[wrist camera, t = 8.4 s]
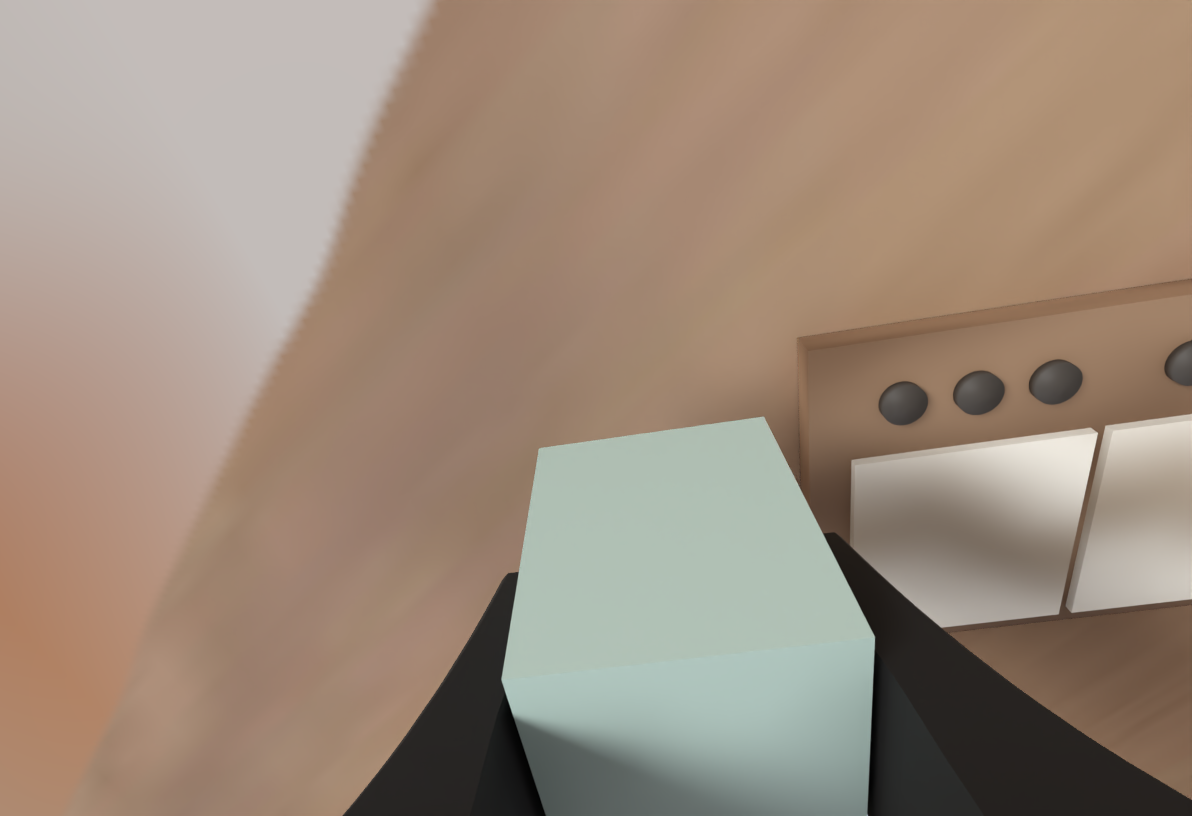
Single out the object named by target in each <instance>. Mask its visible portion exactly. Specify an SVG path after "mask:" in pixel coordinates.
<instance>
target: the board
mask: <svg viewBox="0 0 1192 816" xmlns="http://www.w3.org/2000/svg"><path fill="white" fill-rule="evenodd" d="M797 350H798V394H799V438H800V481H801V491H802V493H803V495H804V497H805V499H806V501H807V503H808V505H809V507H810V509H811V511H812V513H813V515H814V517H815V519H816V521H817V523H818V525H819V527H820V529H821V531H822V533H831V532H835V533H837V534H838V535H839V536H840V537H842V538H843V539H844V540H845V541H846V542H847V543H848V544H849V545H850V546H851V547H852V548H853V549H854V550H855V551H856V552H857V553H858V554H859V555H860V556H862V557H863V558H864V559H865V560H866V561H867V562H868V563H869V564H870V565H871V566H872V567H873V568H874V569H875V570H876V571H877V572H878V573H880V574H881V575H882V576H883V577H884V578H885V579H886V580H887V581H888V582H889V583H890V584H892V585H893V586H894V587H895V588H896V589H897V590H898V591H899V592H900V593H902V594H903V595H904V596H905V597H906V598H907V599H908V600H909V601H911V602H912V603H913V604H914V605H915V606H916V607H917V608H919V609H920V610H921V611H922V612H923V613H925V614H926V615H927V616H928V617H929V618H930V619H932V620H933V621H934V622H935V623H936V624H937V625H939V626H940V627H941V628H942V629H943V630H945V631H946V632H947V633H948V632H957V631H966V630H975V629H984V628H992V627H1001V626H1010V625H1019V624H1028V623H1037V622H1045V621H1054V620H1063V619H1072V618H1081V617H1090V616H1098V615H1107V614H1116V613H1125V612H1134V611H1143V610H1151V609H1160V608H1169V607H1178V606H1187V605H1192V279H1188V280H1181V281H1174V282H1167V283H1161V284H1154V285H1147V286H1141V287H1134V288H1127V289H1121V290H1114V291H1107V292H1101V293H1094V294H1087V295H1081V296H1074V297H1067V298H1060V299H1054V300H1047V301H1040V302H1034V303H1027V304H1020V305H1014V306H1007V307H1000V308H994V309H987V310H980V311H973V312H967V313H960V314H953V315H947V316H940V317H933V318H927V319H920V320H913V321H907V322H900V323H893V324H886V325H880V326H873V327H866V328H860V329H853V330H846V331H840V332H833V333H826V334H820V335H813V336H806V337H800V338H797Z"/></svg>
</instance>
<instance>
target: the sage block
mask: <svg viewBox="0 0 1192 816" xmlns="http://www.w3.org/2000/svg"><path fill="white" fill-rule="evenodd" d="M874 650H875V636H874V634H873V632H872V630H871V628H870V626H869V624H868V622H867V620H866V618H865V616H864V614H863V612H862V610H861V608H860V607H859V605H858V603H857V601H856V599H855V597H854V595H853V593H852V591H851V589H850V587H849V585H848V583H847V581H846V579H845V577H844V575H843V573H842V571H841V569H840V567H839V565H838V563H837V561H836V559H835V557H834V555H833V553H832V551H831V549H830V547H829V545H828V543H827V541H826V539H825V537H824V535H823V533H822V531H821V529H820V527H819V525H818V523H817V521H816V519H815V517H814V515H813V513H812V511H811V509H810V507H809V505H808V503H807V501H806V499H805V497H804V495H803V493H802V491H801V489H800V487H799V485H798V483H797V482H796V480H795V478H794V476H793V474H792V472H791V470H790V468H789V466H788V464H787V462H786V460H785V458H784V456H783V454H782V452H781V450H780V448H779V446H778V444H777V442H776V440H775V438H774V436H773V434H772V432H771V430H770V428H769V426H768V424H767V422H766V420H765V418H764V417H758V418H750V419H743V420H736V421H729V422H722V423H715V424H708V425H701V426H694V427H687V428H680V429H673V430H666V431H658V432H651V433H644V434H637V435H630V436H623V437H616V438H609V439H602V440H595V441H588V442H581V443H574V444H566V445H559V446H552V447H545V448H539V452H538V458H537V465H536V471H535V477H534V483H533V489H532V495H531V501H530V507H529V514H528V520H527V526H526V532H525V538H524V544H523V550H522V557H521V563H520V569H519V575H518V581H517V587H516V593H515V600H514V606H513V612H512V618H511V624H510V630H509V636H508V643H507V649H506V655H505V661H504V667H503V673H502V679H501V680H502V683H503V686H504V689H505V692H506V695H507V699H508V702H509V705H510V708H511V711H512V714H513V717H514V720H515V723H516V726H517V729H518V732H519V735H520V738H521V741H522V744H523V747H524V750H525V753H526V756H527V760H528V763H529V766H530V769H531V772H532V775H533V778H534V781H535V784H536V787H537V790H538V793H539V796H540V799H541V802H542V805H543V808H544V811H545V814H546V816H867V807H868V785H869V762H870V740H871V717H872V695H873V672H874Z"/></svg>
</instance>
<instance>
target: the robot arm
mask: <svg viewBox="0 0 1192 816" xmlns="http://www.w3.org/2000/svg"><path fill="white" fill-rule="evenodd" d="M823 535H824V537H825V539H826V541H827V543H828V545H829V547H830V549H831V551H832V553H833V555H834V557H835V559H836V561H837V563H838V565H839V567H840V569H841V571H842V573H843V575H844V577H845V579H846V581H847V583H848V585H849V587H850V589H851V591H852V593H853V595H854V597H855V599H856V601H857V603H858V605H859V607H860V608H861V610H862V612H863V614H864V616H865V618H866V620H867V622H868V624H869V626H870V628H871V630H872V632H873V634H874V636H875V650H874V672H873V695H872V717H871V740H870V762H869V785H868V807H867V816H1192V800H1191V799H1189V798H1187V797H1186V796H1184V795H1182V794H1181V793H1179V792H1177V791H1176V790H1174V789H1172V788H1171V787H1169V786H1167V785H1166V784H1164V783H1162V782H1161V781H1159V780H1157V779H1156V778H1154V777H1152V776H1150V775H1149V774H1147V773H1145V772H1144V771H1142V770H1140V769H1139V768H1137V767H1135V766H1134V765H1132V764H1130V763H1129V762H1127V761H1125V760H1124V759H1122V758H1121V757H1119V756H1117V755H1116V754H1114V753H1113V752H1111V751H1110V750H1108V749H1106V748H1105V747H1103V746H1102V745H1100V744H1099V743H1097V742H1095V741H1094V740H1092V739H1091V738H1089V737H1088V736H1086V735H1085V734H1083V733H1082V732H1080V731H1079V730H1077V729H1076V728H1074V727H1073V726H1071V725H1070V724H1069V723H1067V722H1066V721H1064V720H1063V719H1061V718H1060V717H1058V716H1057V715H1055V714H1054V713H1052V712H1051V711H1049V710H1048V709H1047V708H1045V707H1044V706H1042V705H1041V704H1039V703H1038V702H1037V701H1035V700H1034V699H1033V698H1031V697H1030V696H1028V695H1027V694H1026V693H1024V692H1023V691H1021V690H1020V689H1019V688H1017V687H1016V686H1015V685H1013V684H1012V683H1011V682H1009V681H1008V680H1007V679H1005V678H1004V677H1003V676H1001V675H1000V674H999V673H997V672H996V671H995V670H994V669H992V668H991V667H990V666H988V665H987V664H986V663H984V662H983V661H982V660H981V659H979V658H978V657H977V656H975V655H974V654H973V653H972V652H970V651H969V650H968V649H967V648H965V647H964V646H963V645H962V644H960V643H959V642H958V641H957V640H955V639H954V638H953V637H952V636H950V635H949V634H948V633H947V632H946V631H945V630H943V629H942V628H941V627H940V626H939V625H937V624H936V623H935V622H934V621H933V620H932V619H930V618H929V617H928V616H927V615H926V614H925V613H923V612H922V611H921V610H920V609H919V608H917V607H916V606H915V605H914V604H913V603H912V602H911V601H909V600H908V599H907V598H906V597H905V596H904V595H903V594H902V593H900V592H899V591H898V590H897V589H896V588H895V587H894V586H893V585H892V584H890V583H889V582H888V581H887V580H886V579H885V578H884V577H883V576H882V575H881V574H880V573H878V572H877V571H876V570H875V569H874V568H873V567H872V566H871V565H870V564H869V563H868V562H867V561H866V560H865V559H864V558H863V557H862V556H860V555H859V554H858V553H857V552H856V551H855V550H854V549H853V548H852V547H851V546H850V545H849V544H848V543H847V542H846V541H845V540H844V539H843V538H842V537H840V536H839V535H838V534H837V533H835V532H831V533H823ZM518 575H519V572H515V573H508V574H507V575H506V576H505V577H504V579H503V580H502V582H501V584H500V585H499V587H498V589H497V591H496V593H495V595H494V596H493V598H492V600H491V602H490V604H489V605H488V607H487V609H486V611H485V613H484V614H483V616H482V618H481V620H480V621H479V623H478V625H477V626H476V628H475V630H474V632H473V633H472V635H471V637H470V638H469V640H468V642H467V644H466V645H465V647H464V648H463V650H462V652H461V653H460V655H459V656H458V658H457V660H456V661H455V663H454V664H453V666H452V668H451V669H450V671H449V672H448V674H447V676H446V677H445V679H444V680H443V682H442V683H441V685H440V687H439V688H438V690H437V691H436V693H435V694H434V696H433V697H432V698H431V700H430V701H429V703H428V704H427V706H426V707H425V709H424V710H423V711H422V713H421V714H420V716H419V717H418V719H417V720H416V722H415V723H414V724H413V726H412V727H411V729H410V730H409V732H408V733H407V735H406V736H405V737H404V739H403V740H402V741H401V743H400V744H399V745H398V747H397V748H396V749H395V751H394V752H393V753H392V755H391V756H390V757H389V759H388V760H387V761H386V763H385V764H384V765H383V767H382V768H381V769H380V771H379V772H378V773H377V774H376V776H375V777H374V778H373V779H372V781H371V782H370V783H369V784H368V786H367V787H366V788H365V789H364V791H363V792H362V793H361V794H360V796H359V797H358V798H357V799H356V800H355V802H354V803H353V804H352V805H351V807H350V808H349V809H348V810H347V811H346V812H345V813H344V815H343V816H546V814H545V811H544V808H543V805H542V802H541V799H540V796H539V793H538V790H537V787H536V784H535V781H534V778H533V775H532V772H531V769H530V766H529V763H528V760H527V756H526V753H525V750H524V747H523V744H522V741H521V738H520V735H519V732H518V729H517V726H516V723H515V720H514V717H513V714H512V711H511V708H510V705H509V702H508V699H507V695H506V692H505V689H504V686H503V683H502V680H501V679H502V673H503V667H504V661H505V655H506V649H507V643H508V636H509V630H510V624H511V618H512V612H513V606H514V600H515V593H516V587H517V581H518Z"/></svg>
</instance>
